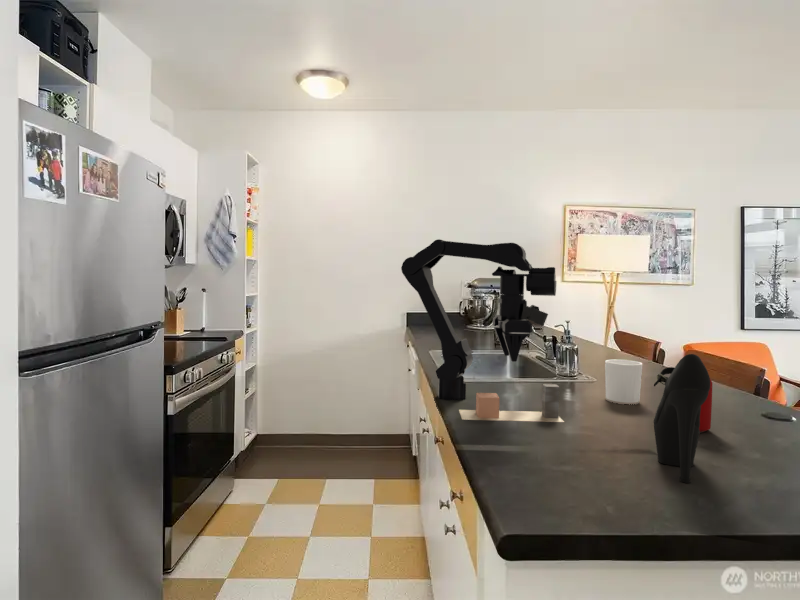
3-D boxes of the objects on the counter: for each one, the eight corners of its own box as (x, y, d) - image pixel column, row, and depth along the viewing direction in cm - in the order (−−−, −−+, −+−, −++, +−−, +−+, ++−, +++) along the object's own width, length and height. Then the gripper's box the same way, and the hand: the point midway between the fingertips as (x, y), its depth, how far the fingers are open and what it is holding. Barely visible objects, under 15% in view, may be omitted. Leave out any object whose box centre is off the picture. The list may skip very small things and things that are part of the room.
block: (478, 417, 107) (478, 397, 107) (475, 412, 112) (476, 392, 112) (499, 418, 107) (499, 397, 107) (495, 412, 112) (496, 393, 112)
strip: (462, 423, 106) (462, 387, 105) (458, 413, 114) (459, 379, 113) (564, 425, 105) (565, 389, 105) (554, 415, 113) (555, 382, 113)
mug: (649, 404, 125) (650, 364, 125) (620, 406, 123) (621, 365, 122) (618, 394, 136) (619, 357, 136) (591, 396, 133) (592, 358, 133)
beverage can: (708, 427, 106) (710, 372, 105) (713, 435, 100) (715, 377, 99) (672, 422, 109) (674, 369, 108) (675, 430, 103) (677, 374, 102)
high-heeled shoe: (688, 450, 90) (693, 343, 90) (718, 492, 72) (724, 358, 72) (641, 445, 93) (645, 340, 92) (658, 484, 75) (663, 354, 74)
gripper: (556, 296, 110) (554, 365, 110) (535, 294, 128) (534, 353, 129) (506, 295, 110) (504, 364, 111) (493, 293, 129) (491, 352, 129)
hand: (510, 358), depth 120 cm, fingers open, 9 cm apart
